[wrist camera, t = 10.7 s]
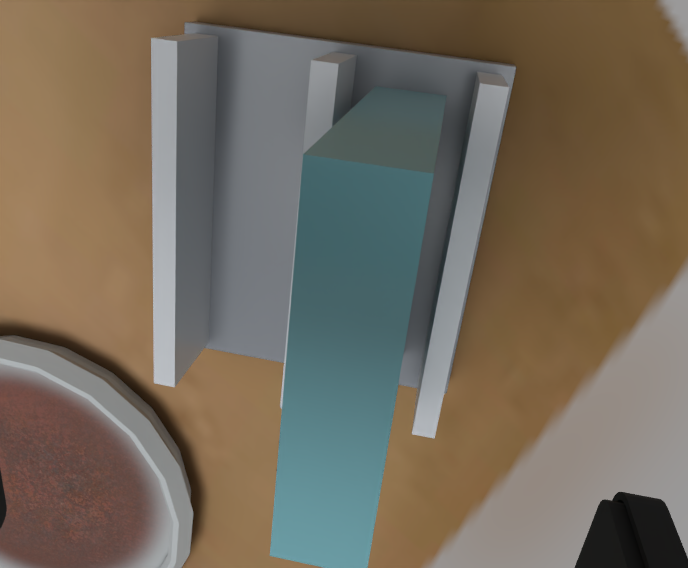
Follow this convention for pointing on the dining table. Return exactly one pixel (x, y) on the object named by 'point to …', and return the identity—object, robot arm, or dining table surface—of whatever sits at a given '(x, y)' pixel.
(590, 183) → the dining table surface
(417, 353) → the dish rack
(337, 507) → the teal upright slab
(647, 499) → the robot arm
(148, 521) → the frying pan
